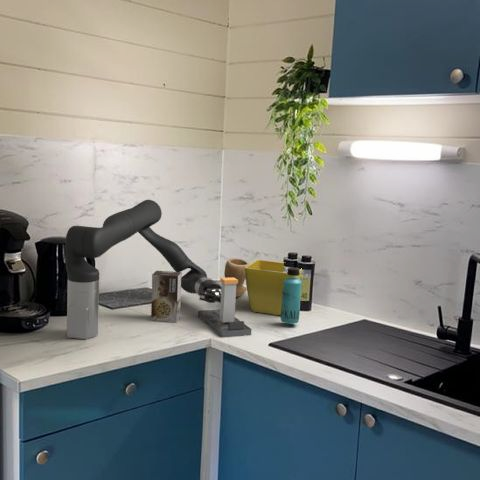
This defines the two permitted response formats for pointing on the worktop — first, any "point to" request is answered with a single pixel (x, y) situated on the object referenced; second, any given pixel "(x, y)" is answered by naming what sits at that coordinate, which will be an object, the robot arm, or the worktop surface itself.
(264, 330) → the worktop surface
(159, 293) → the coffee box
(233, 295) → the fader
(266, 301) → the flower pot
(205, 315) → the console
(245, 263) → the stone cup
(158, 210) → the robot arm
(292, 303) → the beverage bottle
